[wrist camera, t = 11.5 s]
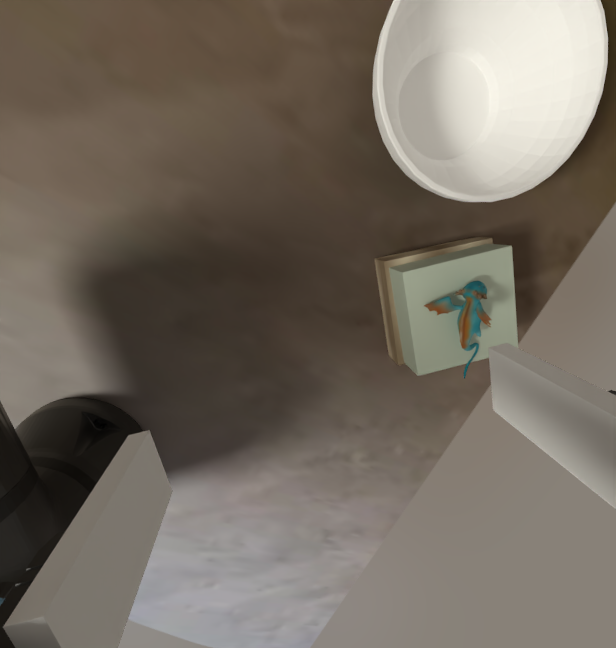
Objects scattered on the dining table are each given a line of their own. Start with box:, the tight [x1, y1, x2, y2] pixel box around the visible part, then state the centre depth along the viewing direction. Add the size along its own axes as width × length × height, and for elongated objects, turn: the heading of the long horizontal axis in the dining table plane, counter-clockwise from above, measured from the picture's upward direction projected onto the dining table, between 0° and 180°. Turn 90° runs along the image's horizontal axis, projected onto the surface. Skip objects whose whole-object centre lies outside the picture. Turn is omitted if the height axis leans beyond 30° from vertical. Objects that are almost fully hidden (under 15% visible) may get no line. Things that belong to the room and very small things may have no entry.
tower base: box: [375, 237, 493, 366], centre depth 42 cm, size 12×12×4 cm
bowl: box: [372, 0, 608, 202], centre depth 34 cm, size 20×20×10 cm
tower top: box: [389, 244, 518, 376], centre depth 38 cm, size 11×11×4 cm
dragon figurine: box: [424, 281, 491, 379], centre depth 35 cm, size 7×7×8 cm
